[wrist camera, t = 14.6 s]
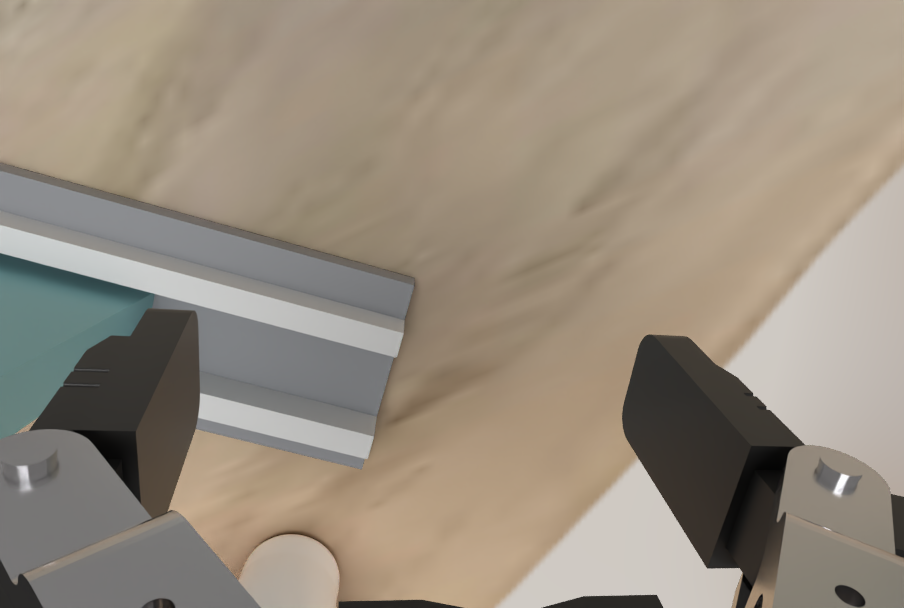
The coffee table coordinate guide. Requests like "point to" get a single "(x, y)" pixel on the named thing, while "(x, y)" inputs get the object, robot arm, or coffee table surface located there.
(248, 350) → the track board
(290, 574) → the drinking glass
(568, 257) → the coffee table surface
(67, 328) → the door panel
